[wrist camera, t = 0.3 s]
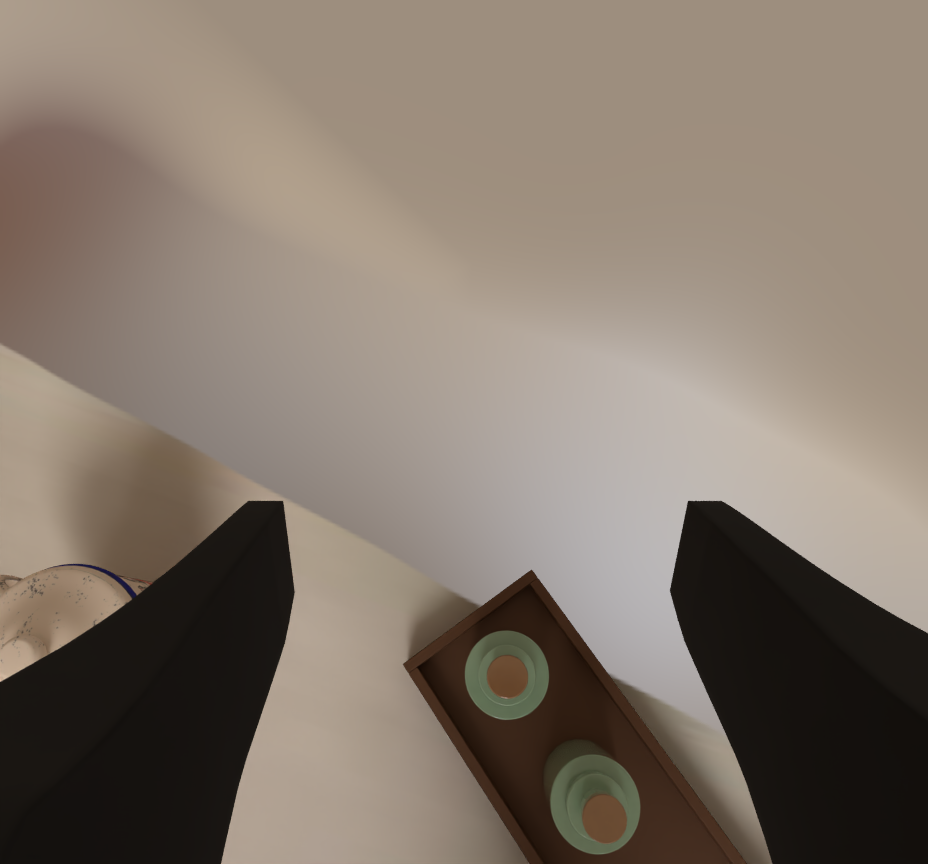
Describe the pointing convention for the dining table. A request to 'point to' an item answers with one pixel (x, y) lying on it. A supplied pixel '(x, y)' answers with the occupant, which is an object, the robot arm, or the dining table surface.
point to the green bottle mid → (590, 797)
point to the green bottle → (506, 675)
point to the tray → (561, 738)
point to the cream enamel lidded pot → (56, 609)
